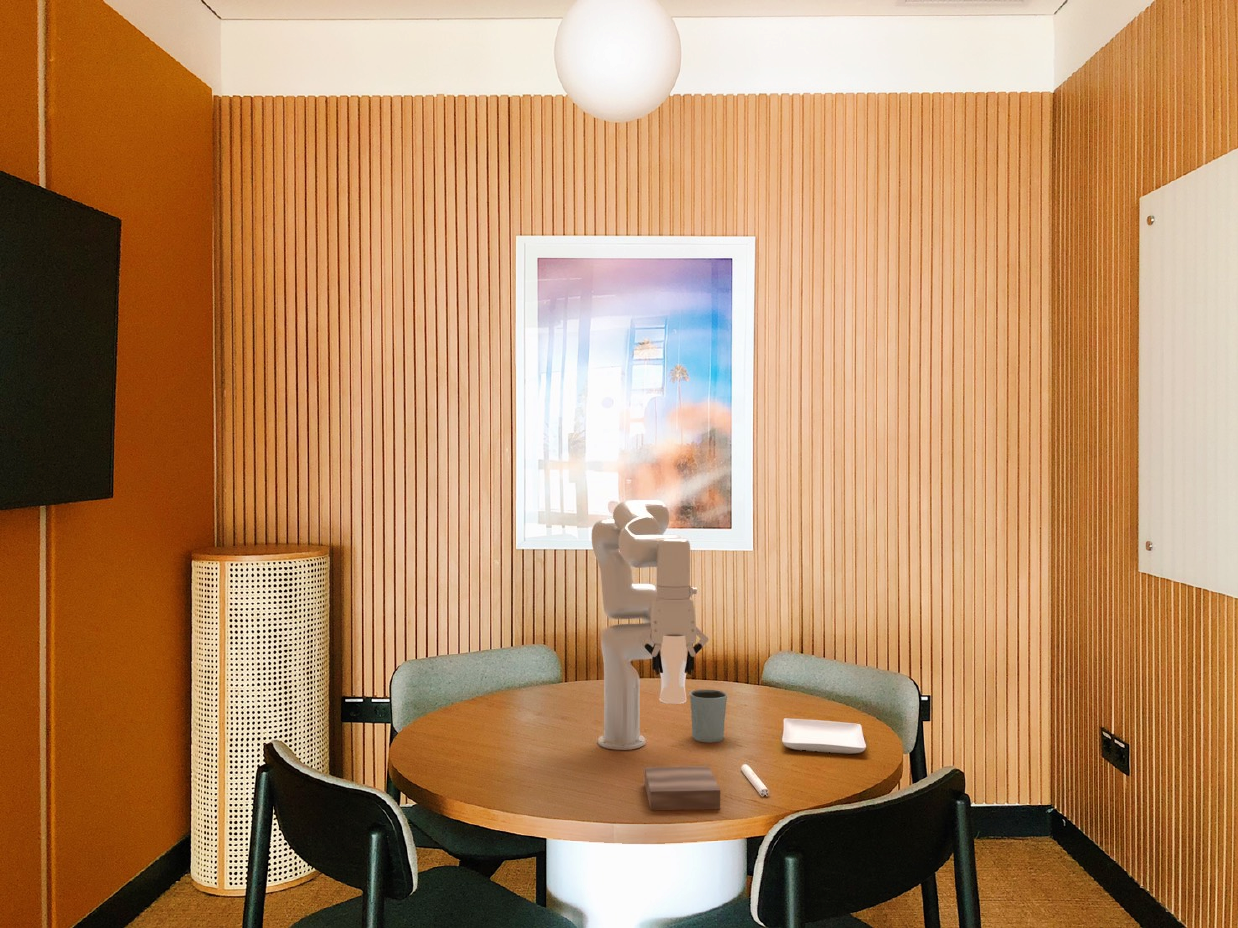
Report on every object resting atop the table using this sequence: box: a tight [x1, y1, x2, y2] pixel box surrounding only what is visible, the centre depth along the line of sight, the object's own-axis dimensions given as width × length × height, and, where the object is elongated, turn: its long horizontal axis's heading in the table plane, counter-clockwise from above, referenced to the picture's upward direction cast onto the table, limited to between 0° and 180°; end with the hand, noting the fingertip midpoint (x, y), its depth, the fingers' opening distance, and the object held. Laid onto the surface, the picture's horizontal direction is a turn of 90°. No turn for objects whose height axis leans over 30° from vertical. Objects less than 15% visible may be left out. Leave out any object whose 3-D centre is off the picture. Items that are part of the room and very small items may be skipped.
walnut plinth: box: [644, 765, 721, 811], centre depth 189 cm, size 15×15×4 cm
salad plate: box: [781, 717, 867, 755], centre depth 228 cm, size 21×21×3 cm
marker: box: [740, 763, 770, 797], centre depth 198 cm, size 18×2×2 cm, turn 7°
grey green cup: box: [689, 689, 728, 743], centre depth 232 cm, size 10×10×12 cm
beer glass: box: [658, 635, 689, 705], centre depth 189 cm, size 7×7×15 cm
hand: (673, 672), depth 189 cm, fingers closed on beer glass, 6 cm apart
